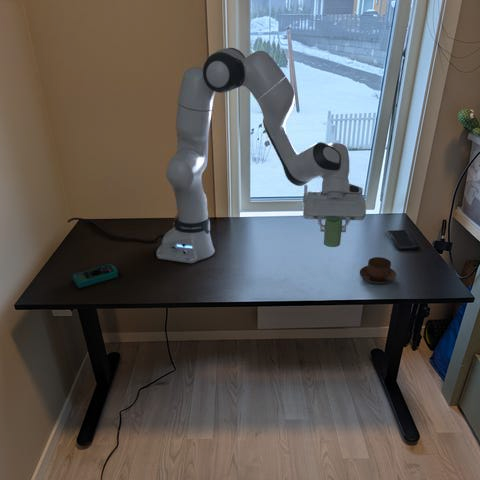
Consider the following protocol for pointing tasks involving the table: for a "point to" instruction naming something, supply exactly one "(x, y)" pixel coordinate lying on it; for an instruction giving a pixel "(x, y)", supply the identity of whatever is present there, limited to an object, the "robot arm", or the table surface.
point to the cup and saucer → (378, 271)
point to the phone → (401, 239)
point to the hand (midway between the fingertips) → (333, 231)
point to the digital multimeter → (95, 275)
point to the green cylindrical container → (332, 231)
